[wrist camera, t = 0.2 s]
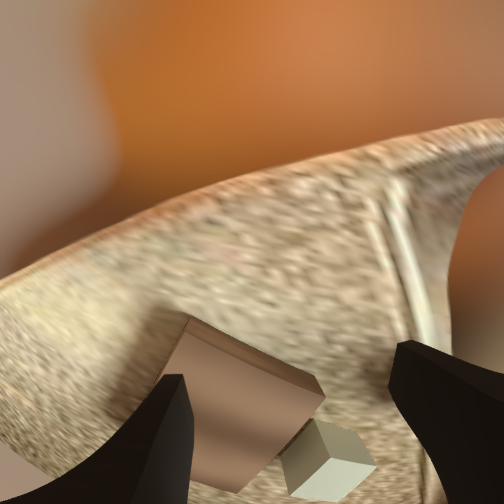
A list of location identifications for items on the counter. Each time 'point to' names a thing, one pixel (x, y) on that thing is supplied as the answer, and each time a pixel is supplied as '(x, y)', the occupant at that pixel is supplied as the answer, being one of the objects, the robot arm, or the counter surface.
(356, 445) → the sage block
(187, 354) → the walnut block
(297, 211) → the counter surface
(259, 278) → the counter surface
